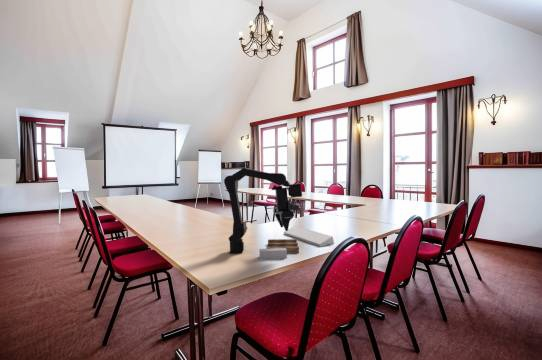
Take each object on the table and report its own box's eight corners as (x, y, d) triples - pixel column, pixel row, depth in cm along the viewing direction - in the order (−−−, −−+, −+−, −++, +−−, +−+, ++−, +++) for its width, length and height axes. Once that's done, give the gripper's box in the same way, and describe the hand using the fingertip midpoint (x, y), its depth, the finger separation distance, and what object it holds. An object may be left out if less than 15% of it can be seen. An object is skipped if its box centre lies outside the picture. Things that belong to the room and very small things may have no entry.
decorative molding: (321, 252, 147) (334, 244, 152) (319, 244, 146) (332, 236, 151) (285, 238, 176) (297, 232, 181) (283, 231, 175) (295, 225, 180)
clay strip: (259, 259, 129) (259, 251, 129) (259, 257, 132) (259, 248, 132) (286, 258, 130) (286, 250, 130) (285, 256, 133) (285, 247, 133)
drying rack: (267, 253, 137) (267, 247, 137) (268, 244, 153) (268, 239, 153) (298, 252, 137) (298, 247, 137) (296, 244, 153) (296, 239, 152)
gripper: (303, 198, 129) (305, 230, 130) (292, 195, 147) (294, 223, 148) (280, 200, 127) (283, 233, 127) (272, 197, 145) (274, 226, 146)
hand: (284, 228), depth 137 cm, fingers open, 9 cm apart
